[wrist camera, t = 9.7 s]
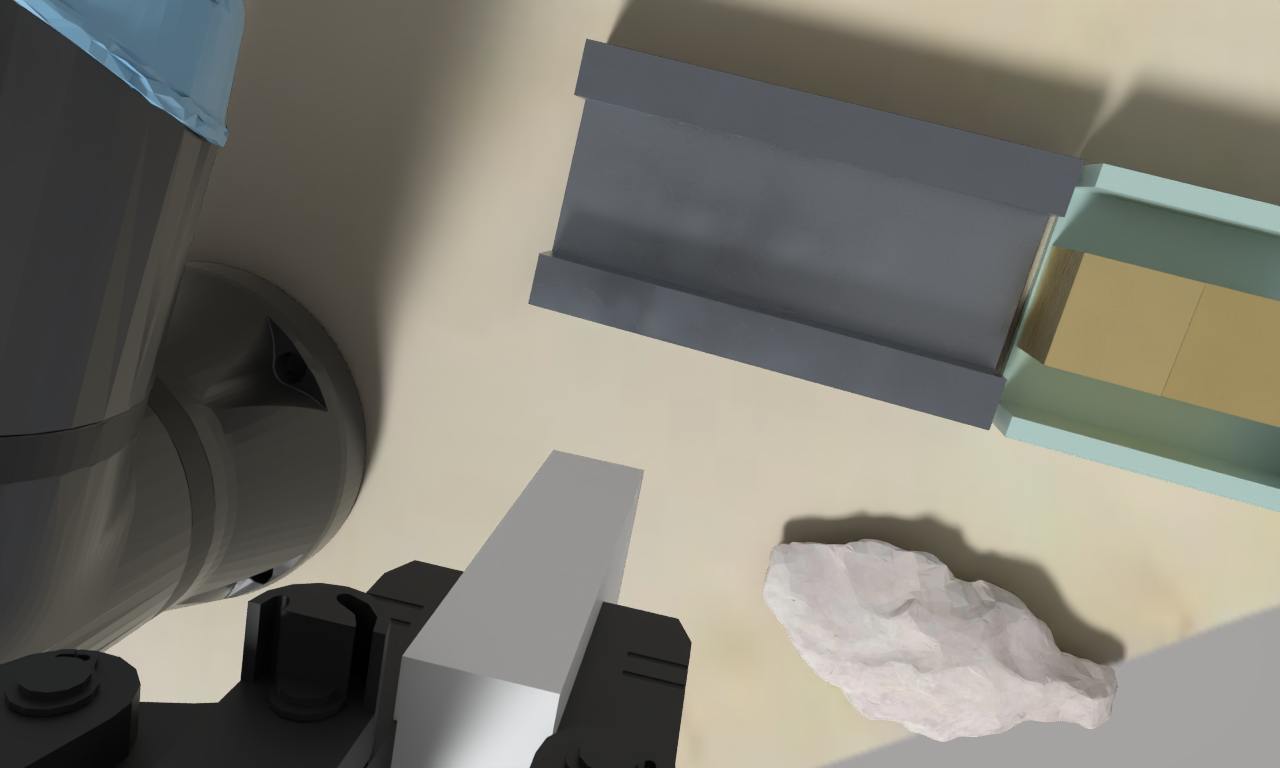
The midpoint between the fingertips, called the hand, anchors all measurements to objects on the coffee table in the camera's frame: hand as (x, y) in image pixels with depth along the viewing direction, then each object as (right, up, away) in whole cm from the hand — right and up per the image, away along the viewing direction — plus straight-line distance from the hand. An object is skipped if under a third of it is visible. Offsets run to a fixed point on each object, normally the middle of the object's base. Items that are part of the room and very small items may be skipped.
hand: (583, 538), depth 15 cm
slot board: (+7, +8, +22) cm, 24 cm away
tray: (+22, +4, +20) cm, 30 cm away
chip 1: (+18, +5, +20) cm, 28 cm away
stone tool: (+13, -8, +25) cm, 29 cm away
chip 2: (+22, +4, +20) cm, 30 cm away
